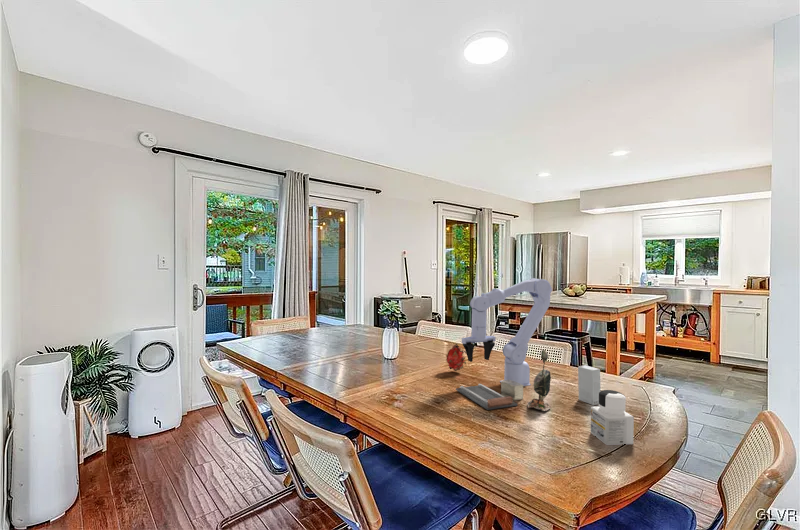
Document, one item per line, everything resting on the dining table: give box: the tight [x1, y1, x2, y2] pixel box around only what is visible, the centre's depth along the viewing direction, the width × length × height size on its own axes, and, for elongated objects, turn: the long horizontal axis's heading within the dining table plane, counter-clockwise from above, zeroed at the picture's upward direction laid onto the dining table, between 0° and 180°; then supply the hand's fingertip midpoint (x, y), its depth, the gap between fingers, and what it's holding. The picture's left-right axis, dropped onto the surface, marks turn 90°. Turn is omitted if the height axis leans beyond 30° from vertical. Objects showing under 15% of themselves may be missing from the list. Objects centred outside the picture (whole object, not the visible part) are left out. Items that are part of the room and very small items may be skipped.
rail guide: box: [455, 383, 519, 411], centre depth 139 cm, size 12×21×3 cm, turn 21°
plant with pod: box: [526, 349, 552, 412], centre depth 131 cm, size 8×11×20 cm
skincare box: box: [577, 364, 602, 406], centre depth 136 cm, size 6×4×12 cm
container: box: [590, 389, 635, 446], centre depth 108 cm, size 8×8×13 cm
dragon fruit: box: [445, 343, 467, 372], centre depth 172 cm, size 8×8×12 cm
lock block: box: [500, 380, 524, 402], centre depth 141 cm, size 4×7×5 cm, turn 27°
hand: (478, 360), depth 154 cm, fingers open, 7 cm apart
